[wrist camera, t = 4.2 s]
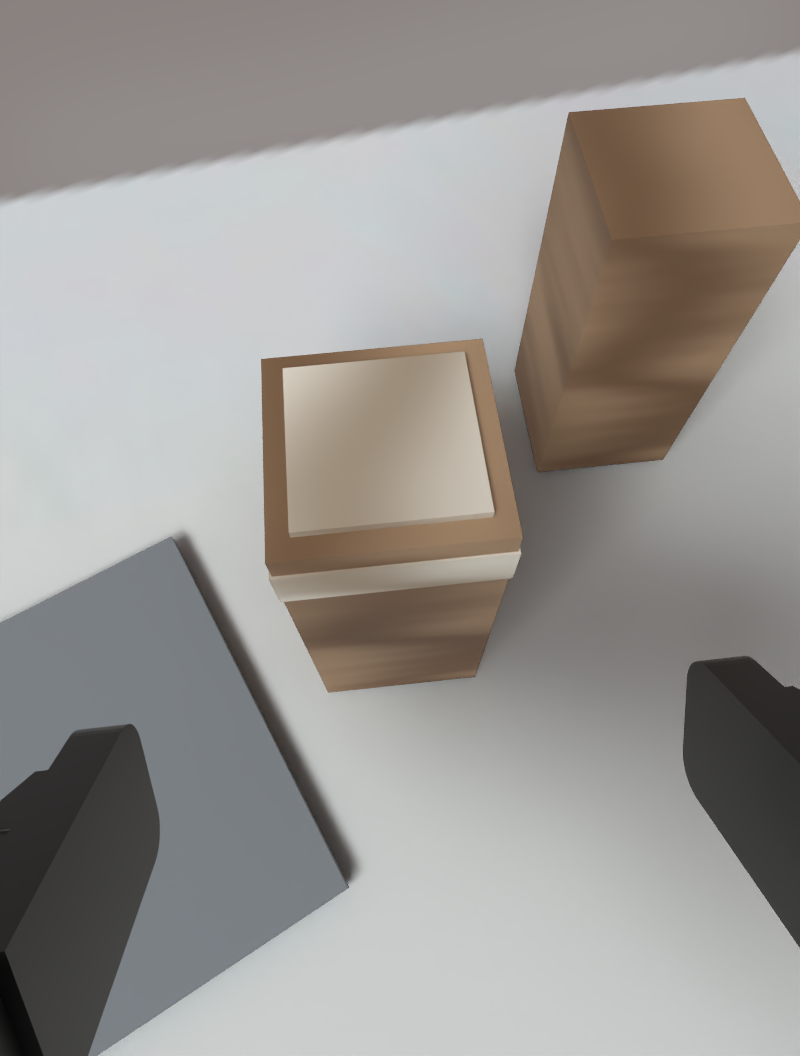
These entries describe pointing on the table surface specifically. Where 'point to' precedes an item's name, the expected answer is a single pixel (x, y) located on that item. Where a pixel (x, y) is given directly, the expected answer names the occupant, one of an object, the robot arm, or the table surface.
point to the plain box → (647, 275)
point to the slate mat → (169, 771)
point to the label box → (388, 509)
